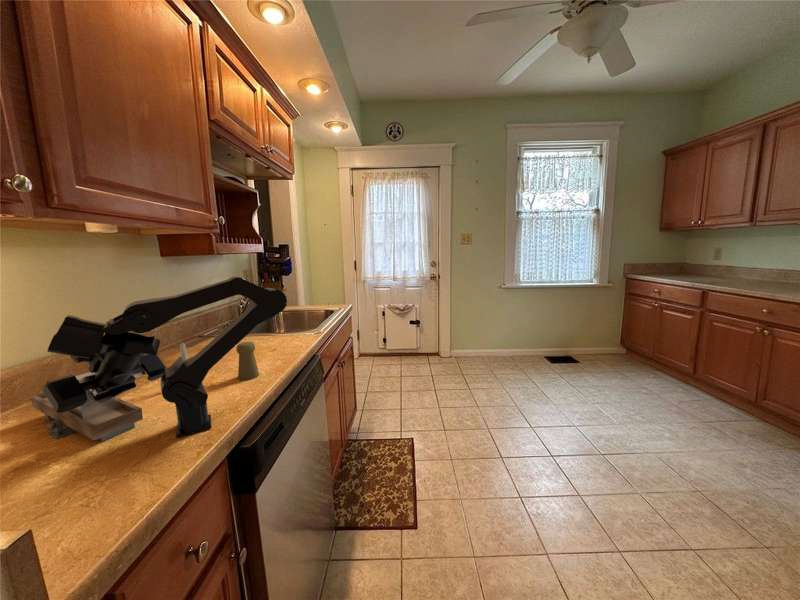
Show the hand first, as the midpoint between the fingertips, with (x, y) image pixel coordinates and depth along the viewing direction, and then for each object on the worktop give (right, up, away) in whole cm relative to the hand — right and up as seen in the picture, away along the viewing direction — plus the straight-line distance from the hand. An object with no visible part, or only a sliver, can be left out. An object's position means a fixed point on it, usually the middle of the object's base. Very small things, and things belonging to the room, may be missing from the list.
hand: (101, 400), depth 70 cm
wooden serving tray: (-7, -4, +4) cm, 9 cm away
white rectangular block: (-4, -3, +3) cm, 6 cm away
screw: (+3, -3, +24) cm, 25 cm away
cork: (+18, -2, +30) cm, 35 cm away
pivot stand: (-7, -7, +4) cm, 11 cm away
